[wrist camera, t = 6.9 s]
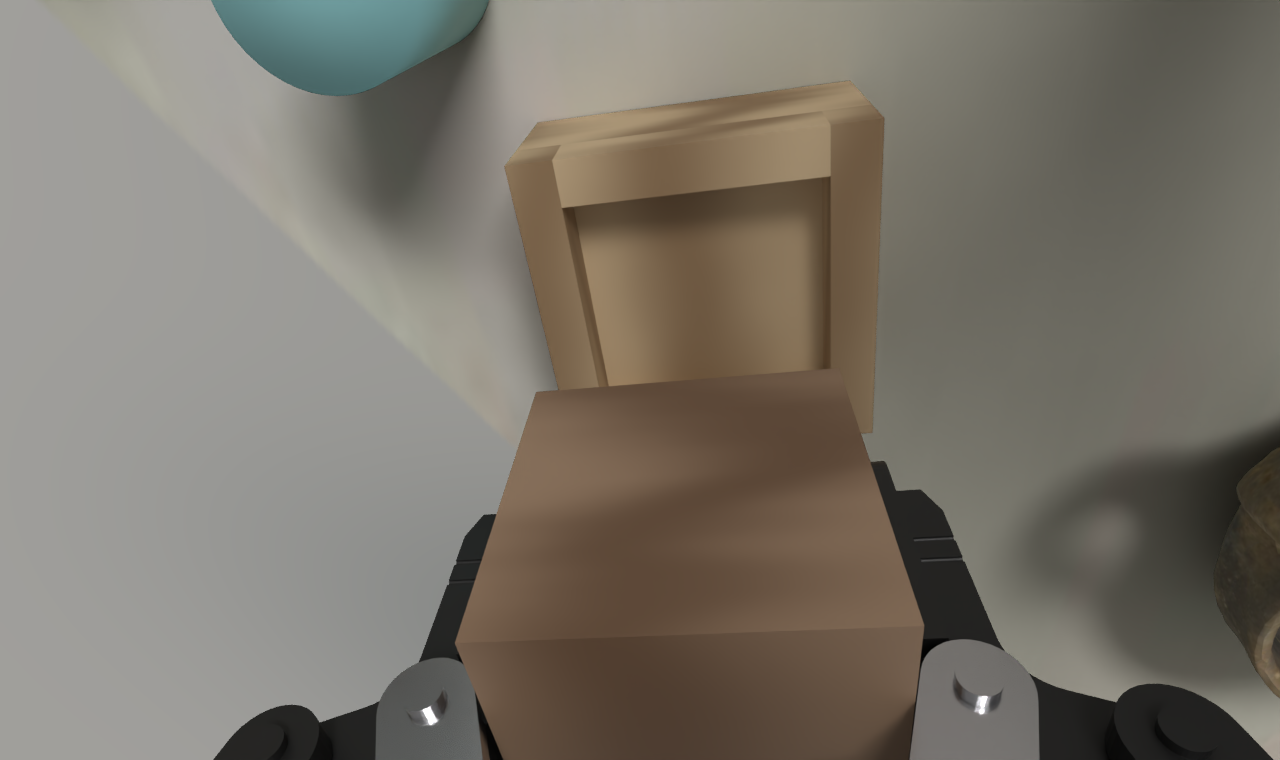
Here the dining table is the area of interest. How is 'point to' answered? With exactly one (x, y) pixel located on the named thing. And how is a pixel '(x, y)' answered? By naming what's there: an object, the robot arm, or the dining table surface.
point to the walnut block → (694, 580)
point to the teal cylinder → (346, 37)
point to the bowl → (1254, 569)
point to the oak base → (708, 239)
